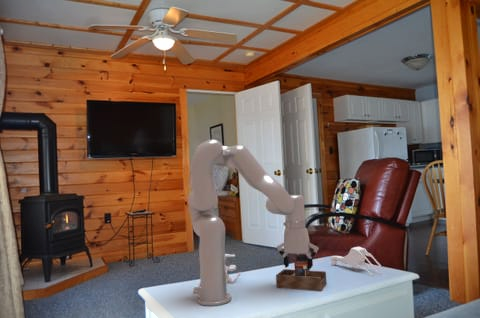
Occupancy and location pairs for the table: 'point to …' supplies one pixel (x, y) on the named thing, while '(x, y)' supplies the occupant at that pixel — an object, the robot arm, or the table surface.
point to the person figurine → (230, 268)
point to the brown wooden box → (301, 280)
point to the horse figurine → (355, 259)
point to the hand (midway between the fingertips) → (298, 267)
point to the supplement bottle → (301, 266)
